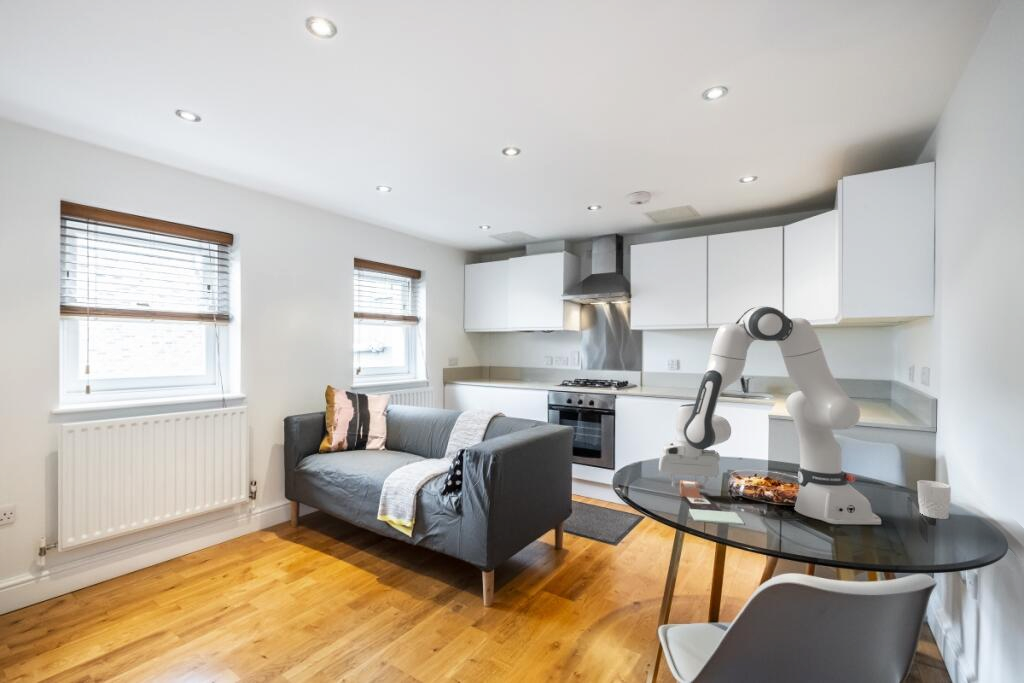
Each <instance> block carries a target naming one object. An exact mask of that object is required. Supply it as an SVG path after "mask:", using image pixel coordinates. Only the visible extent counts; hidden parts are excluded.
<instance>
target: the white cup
mask: <svg viewBox="0 0 1024 683" xmlns="http://www.w3.org/2000/svg"><path fill="white" fill-rule="evenodd" d="M916 483H917V484H916V486H917V499H918V500H917V501H918V507H919V514H920V513H921V515H922V514H923V515H922V516H925V517H928V518H932V519H937V518H938V519H939V520H947V519H949V513H950V512H949V510H950V508H951V507H950V505H951V492H952V491H951V489H952V487H951V485H950V484H946V483H943V482H940V481H939V482H938V481H933V480H926V479H925V480H923V479H921V480H918V481H916Z"/></svg>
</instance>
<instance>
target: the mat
mask: <svg viewBox="0 0 1024 683" xmlns="http://www.w3.org/2000/svg"><path fill="white" fill-rule="evenodd" d="M688 511H689V513H690V515H691V517H692V519H693V520H694V522H703V523H716V524H717V523H718V524H729V525H731V524H732V525H742V526H744V525H745V522H744V521H743V519H742V518H741V517H740V516H739V515H738V513H737V512H733V511H723V510H722V511H711V510H697V509H691V508H689V509H688Z"/></svg>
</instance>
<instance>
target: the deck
mask: <svg viewBox="0 0 1024 683" xmlns="http://www.w3.org/2000/svg"><path fill="white" fill-rule="evenodd" d="M699 485H700V484H699V483H698V481H696V480H695V481H694V480H684V479H683V480H681V479H680V480H679V493H681V496H680V498H681V497H692V498H700V495H701V494H700V492H701V491H700V490H701V489H700V487H699Z"/></svg>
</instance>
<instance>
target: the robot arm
mask: <svg viewBox="0 0 1024 683" xmlns="http://www.w3.org/2000/svg"><path fill="white" fill-rule="evenodd" d="M713 338H714V339H713V341H712V345H711V349H710V353H709V358H708V362H707V366H706V369H705V372H704V375H703V378H702V380H701V383H700V386H699V388H698V392H697V396H696V399H695V403H690V404H689V403H688V404H682V405H680V406H679V407H678V408H677V412H676V420H675V422H676V424H675V428H676V433H677V434H676V437H675V441H673V442H670V443H665V444H663V445H662V452H661V453H660V455H659V461H658V471H659V472H660V473H661V474H666V475H668V476H669V479H670V480H671V487H674V488H675V487H676V488H677V487H678V485H677V484H678V482H677V480H674V479H673V478H674V477H675V476H674V475H680V476H691V477H692V476H693V477H702V478H703V480H702V481H701V482H699V483H698V485H699V489H700V490H701V489H702V490H703V489H704V490H705V489H706V488H705V487H706V484H707V482H708V481H709V478H717V477H719V476H720V465H719V463H720V460H721V459H720V457H721V456H720V454H719V452H718V451H716V450H715V449H707V448H710V447H712V446H713V447H714V446H716V445H719V444H722V443H725V442H726V441H728V440H729V438H730V437H731V434H732V427H731V425H730V423H729V421H728V420H727V419H726V418H724V417H722V416H719V415H717V414H715V412H716V408H717V404H718V401H719V398H720V396H721V394H722V393H723V391H724V390H725V389H727V388H728V387H729V386H731V385H732V384H734V383H736V382H737V381H738V380H739V379H740V378H741V377H742V374H743V372H744V369H745V366H746V362H747V355H748V350H749V347H750V346H751V344H752V343H754V342H755V341H764V342H774V341H775V342H776V343H777V345H778V346H779V348H780V352H781V355H782V359H783V362H784V364H785V368H786V371H787V374H788V376H789V377H788V378H789V379H790V381H792V382H793V384H795V385H796V387H797V388H798V389H799V390H797V391H794V392H792V393H790V395H788V397H787V399H786V401H785V408H786V410H787V412H788V414H789V415H790V416H791V418H792V421H793V423H794V426H795V430H796V433H797V437H798V441H799V442H798V443H799V465H798V469H797V470H798V472H797V480H798V485H799V486H798V492H797V496H796V497H797V498H796V501H795V504H794V506H795V507H793V508H794V509H793V510H794V511H796V512H797V513H799V514H801V515H803V516H805V517H808V518H812V519H816V520H820V521H823V522H826V523H828V524H832V525H882V519H881V517H880V516H879V515H877V514H876V513H875V512H873V511H872V510H873V509H872V505H871V503H870V501H869V499H868V498H867V497H866V496H865V495H864V494H862V493H861V492H860V491H859V490H857V489H856V488H854V487H853V486H852V485H850V484H849V482H850V483H854V482H855V481H856V477H855V475H852V474H850V473H849V474H848V473H846V472H844V471H843V470H842V447H841V444H840V443H839V441H837V439H836V438H835V436H834V433H833V430H835V431H836V430H840V431H841V430H850V429H852V428H854V427H855V426H856V425H857V424H858V422H859V421H860V418H861V411H860V410H861V409H860V407H859V405H858V404H857V402H855V401H854V400H853V399H852V398H850V397H849V396H848V395H847V394H846V393H845V392H844V390H843V389H842V387H841V386H840V385H839V383H838V381H837V380H836V379H835V377H834V375H833V374H832V372H831V370H830V367H829V365H828V363H827V359H826V355H825V354H824V350H823V348H822V344H821V341H820V339H819V337H818V335H817V332H816V331H815V329H814V327H813V326H812V324H811V322H810V321H809V320H807V319H805V318H802V317H793V318H789V317H788V316H787V315H785V314H784V312H782V311H781V310H779V309H778V308H775V307H772V306H765V305H763V306H762V305H760V306H755V307H751V308H750V309H748V310H747V311H745V312H744V313H743V314H742V315H741V316H740V317H739V319H737V321H736V322H735V323H733V322H731V323H730V322H729V323H724V324H722V325H721V326H719V327H718V329H717V331H716V334H715V336H714V337H713Z"/></svg>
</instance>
